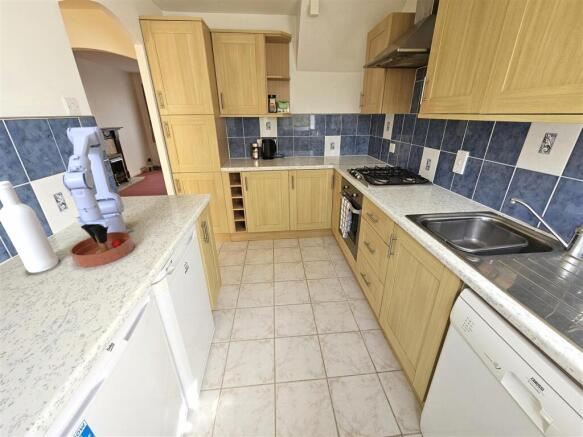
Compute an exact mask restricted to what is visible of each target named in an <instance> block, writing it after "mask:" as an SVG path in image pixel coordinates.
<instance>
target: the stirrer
mask: <svg viewBox="0 0 583 437" xmlns="http://www.w3.org/2000/svg"><path fill="white" fill-rule="evenodd" d="M95 237H96V235H95ZM96 240H97V242H98V245H99V247H100V250H98V251H97V252H96V254H98V253H102V252H105V251H109V250H111V249H114V248H113V247H107V245H106V242H105V243H103V244H101V243H100V242H99V241H98V239H97V237H96Z"/></svg>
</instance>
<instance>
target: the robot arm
mask: <svg viewBox="0 0 583 437" xmlns="http://www.w3.org/2000/svg"><path fill="white" fill-rule="evenodd" d="M66 135H67V138H68V140H69V142H71V144H72V146H73V154H72V155H70V156H69V158H68V165H67V171H66V172H65V174H63V175H62V178H61V179H62V184H63V186H64V188H65V189H66V191H67V192H68V195H69V196H70V197H72V199H73V201H74V204H75V207H76V209H77V211H78V214H79V216H76V218H75V219H76V221H77V223H78V225H79V226H80V228H81V229H82V230H83V231H85V232H86V233H87V234H88V235H89V237H92V239H93V240H94V241H95V242H96V243H97V240H96V237H97V239H98V241H99V242H100V243H101V244H103V243H105V242H107V233H110V232H126V233H129V232H130V231H132V229H130V228H127V227H126V224H125V220H124V217H123V212H124V211H125V207H124V206H125V204H124V202H123V200H122V197H121V195H119V194H118V193H116V192H114V191H112V190H111V189H112V188H111V185H110V181H109V177H108V173H107V168H106V164H105V160H104V154H103V152H104V151H105V150H107V144H106V139H105V136H104V133H103V131H102V129H101V128H100V127H99V126H82V127H79V126H78V127H77V126H76V127H71V126H69V127H68V128H67V129H66ZM94 186H95V190H96V194H95V191H94ZM95 235H96V237H95Z"/></svg>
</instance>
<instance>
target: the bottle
mask: <svg viewBox="0 0 583 437" xmlns="http://www.w3.org/2000/svg"><path fill="white" fill-rule="evenodd" d="M0 202H1V204H2V208H1V209H0V223H1V225H2V226H3V228H4V230H5V232H6V234H7V235H8V238H9V239H10V241H11V243H12V245H13V246H14V249H15V250H16V253H17V254H18V256H19V258H20V260H21V261H22V263H23V266H24V268H25V270H27V272H28V273H30V274H31V273H39V272H43V271H46V270H49V269H51V268H53V267H55V266H57V265H58V264H59V259H58V256H57V254H56V252H55V251H54V249H53V246H52V244H51V242H50V240H49V238H48V235H47V234H46V232H45V230H44V228H43V227H44V226H43V225H42V223H41V221H40V219H39V217H38V214H37V213H36V211H35V210H34V209H33V208H32V206H30V205H28V204H25V203H23V202H21V201H20V199H19V196H18V195H17V192H16V190H15V189H14V185H13V184H12V183H11V181H9V180H3V181H0Z"/></svg>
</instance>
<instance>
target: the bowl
mask: <svg viewBox="0 0 583 437" xmlns="http://www.w3.org/2000/svg"><path fill="white" fill-rule="evenodd" d="M114 240H119V241H120V242H121V245H120V246H118V247H116V248H114V247H113V246H112V242H113V241H114ZM106 245H107V247H113V248H114V249H111V250H109V251H105V252H102V253H98V254H96V252H97V251H98V250H100V247H99V245H98V242H97V243H96V242H95V241H94V240H93V239H92V237H91V236H89V237H88V238H84V239H82V240H80V241H79V242H77V243H75V244H74V245H73V246H71V247H70V249H69V252H68V253H69V255H70V257H71V260H72V262H73V264H74V265H75V266H76V267H80V268H94V267H100V266H105V265H107V264H111V263H114V262H116V261H119V260H121V259H122V258H124V257H126V256H128V255H129V254H130V253H132V251H133V250H134V248H135V244H134V242H133V238H132V235H131V234H130V233H129V232H110V233H107V242H106Z"/></svg>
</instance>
